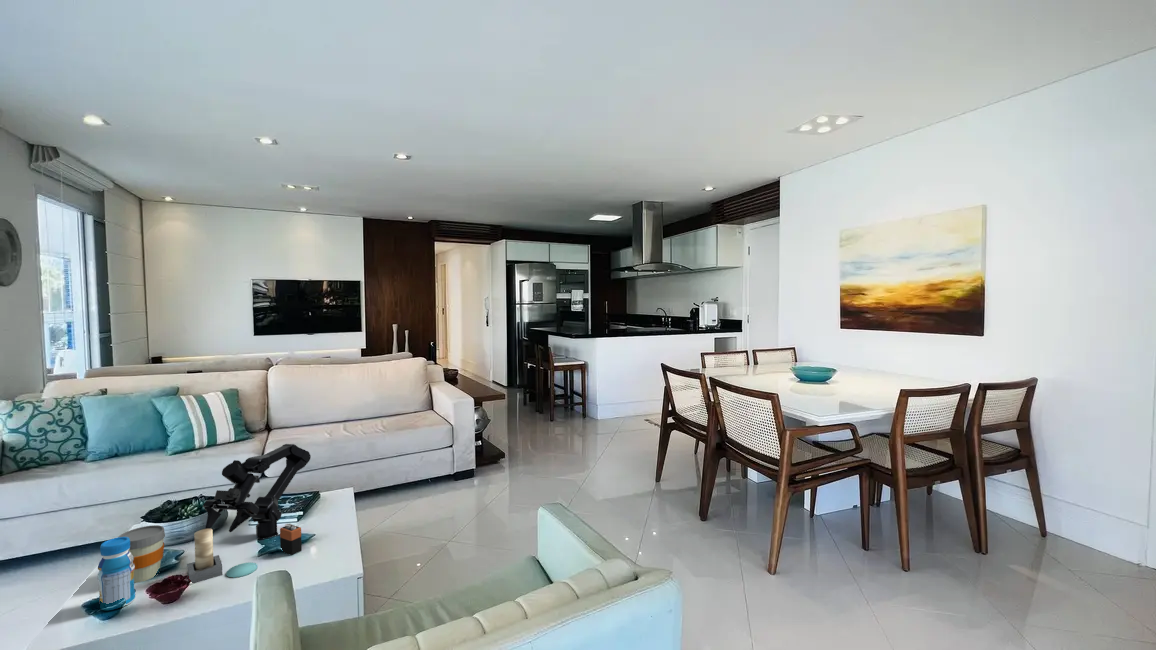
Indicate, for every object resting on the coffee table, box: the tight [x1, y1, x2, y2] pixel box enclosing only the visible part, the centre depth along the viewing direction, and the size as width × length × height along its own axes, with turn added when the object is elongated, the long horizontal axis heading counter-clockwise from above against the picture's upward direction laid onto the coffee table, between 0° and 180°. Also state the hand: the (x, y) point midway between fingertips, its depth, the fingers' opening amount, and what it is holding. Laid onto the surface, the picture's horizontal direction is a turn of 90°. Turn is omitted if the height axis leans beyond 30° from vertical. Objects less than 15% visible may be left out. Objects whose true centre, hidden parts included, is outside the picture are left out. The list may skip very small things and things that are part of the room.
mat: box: [225, 561, 258, 579], centre depth 172 cm, size 9×9×1 cm
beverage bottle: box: [97, 536, 136, 606], centre depth 153 cm, size 8×8×20 cm
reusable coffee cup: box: [118, 524, 166, 584], centre depth 169 cm, size 13×13×15 cm
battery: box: [279, 523, 303, 556], centre depth 186 cm, size 4×7×10 cm, turn 63°
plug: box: [193, 528, 214, 571], centre depth 170 cm, size 5×5×15 cm
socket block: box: [186, 554, 223, 584], centre depth 170 cm, size 9×9×4 cm
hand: (218, 530), depth 175 cm, fingers open, 9 cm apart
